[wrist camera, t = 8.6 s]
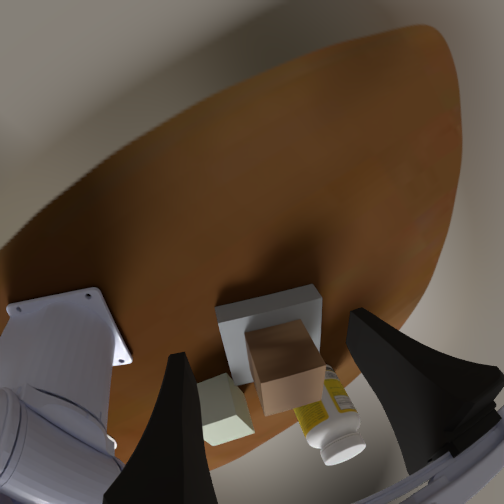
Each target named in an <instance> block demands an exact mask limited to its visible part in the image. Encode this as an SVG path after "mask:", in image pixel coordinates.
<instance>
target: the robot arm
mask: <svg viewBox="0 0 504 504" xmlns="http://www.w3.org/2000/svg"><path fill="white" fill-rule="evenodd" d="M87 294H90V295H91V296H87ZM19 308H20V309H19ZM6 310H7V312H8V314H9V315H10V317H11V318H10V319H9V321H8V323H7V325H6V327H5V329H4V331H3V333H2V335H1V337H0V504H218V502H217V498H216V495H215V492H214V488H213V484H212V480H211V476H210V472H209V468H208V463H207V459H206V454H205V447H204V438H203V427H202V416H201V405H200V398H199V393H198V388H197V383H196V380H195V377H194V375H193V372H192V370H191V367H190V364H189V362H188V359H187V357H186V354H185V352H181V353H176V354H170V356H169V357H168V362H167V367H166V371H165V375H164V379H163V382H162V386H161V389H160V392H159V395H158V398H157V401H156V404H155V407H154V409H153V412H152V415H151V417H150V420H149V422H148V425H147V427H146V429H145V431H144V433H143V435H142V437H141V439H140V441H139V443H138V445H137V447H136V449H135V451H134V452H133V454H132V456H131V457H130V459H129V460H128V462H127V464H126V465H125V464H124V463H123V462H122V461H121V460H120V459H118V458H117V457H115V456H114V442H113V441H112V440H110V439H109V438H108V437H107V417H108V404H109V393H110V384H111V375H112V366H116V365H124V364H130V363H132V360H133V358H132V355H131V353H130V352H129V350H128V348H127V346H126V344H125V342H124V340H123V338H122V336H121V334H120V332H119V330H118V328H117V326H116V324H115V322H114V320H113V318H112V315H111V313H110V311H109V309H108V307H107V304H106V302H105V300H104V298H103V295H102V293H101V291H100V290H99V289H98V288H96V287H91V288H86V289H81V290H76V291H71V292H66V293H61V294H56V295H51V296H46V297H41V298H36V299H31V300H26V301H21V302H16V303H11V304H8V306H7V308H6ZM346 344H347V347H348V349H349V351H350V353H351V355H352V357H353V359H354V361H355V363H356V365H357V366H358V368H359V369H360V371H361V372H362V374H363V375H364V377H365V378H366V380H367V381H368V383H369V385H370V386H371V387H372V389H373V391H374V392H375V393H376V395H377V397H378V399H379V401H380V402H381V404H382V406H383V408H384V410H385V412H386V415H387V417H388V419H389V421H390V423H391V425H392V428H393V430H394V432H395V435H396V438H397V441H398V443H399V446H400V449H401V452H402V455H403V458H404V461H405V465H406V468H407V472H408V474H409V475H410V476H408V477H406V478H405V479H403V480H401V481H399V482H397V483H395V484H394V485H391V486H389V487H387V488H385V489H384V490H381V491H379V492H377V493H375V494H373V495H371V496H369V497H367V498H364V499H362V500H360V501H357V502H355V503H352V504H387V503H389V502H391V501H393V500H395V499H397V498H399V497H401V496H402V495H404V494H406V493H408V492H410V491H411V490H413V489H415V488H417V487H418V486H420V485H422V484H423V483H425V482H427V481H428V480H429V482H428V485H427V486H425V487H424V488H422V489H420V490H419V491H417V492H416V493H414V494H413V495H411V496H410V497H408V498H407V499H406V500H404V501H402V502H401V503H399V504H465V503H466V502H467V501H469V500H470V499H471V498H472V497H473V496H474V495H476V494H477V493H478V492H479V491H480V490H481V489H482V488H483V487H484V486H485V485H486V484H487V483H489V481H490V480H492V479H493V478H494V476H496V475H497V474H498V472H499V471H501V469H502V468H503V467H504V405H503V406H502V407H501V408H500V409H499V410H498V411H496V410H495V409H494V408H495V407H496V403H495V402H494V401H493V400H494V399H495V398H496V396H497V395H498V394H499V392H500V391H501V390H502V388H503V387H504V374H503V373H502V372H501V371H500V370H499V368H498V367H497V366H490V365H483V364H478V363H473V362H469V361H465V360H462V359H458V358H455V357H452V356H449V355H447V354H444V353H441V352H439V351H437V350H434V349H432V348H430V347H428V346H425V345H423V344H421V343H419V342H418V341H416V340H414V339H412V338H410V337H409V336H407V335H405V334H403V333H402V332H400V331H398V330H397V329H395V328H394V327H392V326H390V325H389V324H387V323H386V322H384V321H383V320H381V319H380V318H378V317H377V316H375V315H373V314H372V313H370V312H369V311H367V310H366V309H364V308H358V309H355V310H352V311H350V318H349V325H348V331H347V338H346ZM121 359H123V360H121Z"/></svg>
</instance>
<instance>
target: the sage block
mask: <svg viewBox="0 0 504 504" xmlns="http://www.w3.org/2000/svg"><path fill="white" fill-rule="evenodd" d="M197 388H198V393H199V398H200V405H201V416H202V427H203V438H204V440H205V441H206V442H208V443H209V444H211V445H212V446H215V445H219V444H222V443H225V442H228V441H232V440H235V439H238V438H241V437H244V436H247V435H249V434H252V433H255V431H254V428H253V424H252V421H251V417H250V414H249V410H248V407H247V403H246V399H245V396H244V393H243V392H242V391H241V390H240V389H239V387H238V386H235V385H234V382H233V380H232V379H231V378H230V377H229V375H228V374H227V373H224V374H221V375H219V376H216V377H213V378H211V379H208V380H205V381H203V382H200V383H197Z"/></svg>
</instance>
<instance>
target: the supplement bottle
mask: <svg viewBox="0 0 504 504" xmlns="http://www.w3.org/2000/svg"><path fill="white" fill-rule="evenodd" d="M294 412H295V414H296V416H297V419H298V421H299V424H300V426H301V428H302V431H303V433H304V436H305V438H306V440H307V442H308V444H309V445H310V446H312V447H314V448H321V451H320V453H321V457H322V458H323V461H324V463H325V464H326V465H335V464H338V463H341V462H344V461H346V460H348V459H350V458H352V457H354V456H356V455H357V454H359V453H360V452H361V451H362V450H363V449H364V448H365V447H366V444H365V442H364V440H363V438H362V436H361V434H360V433H358V432H356V431H357V430H358V428H359V426H360V423H361V420H360V416H359V414H358V412H357V411H356V409H355V407H354V405H353V404H352V402H351V400H350V398H349V396H348V395H347V393H346V391H345V389H344V387H343V386H342V384H341V382H340V380H339V379H338V377H337V375H336V373H335V371H334V370H333V369H332V367H331V366H329V365H327V364H326V371H325V378H324V385H323V392H322V398H321V400H320V401H317V402H314V403H310V404H307V405H304V406H301V407H297V408H294Z"/></svg>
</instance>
